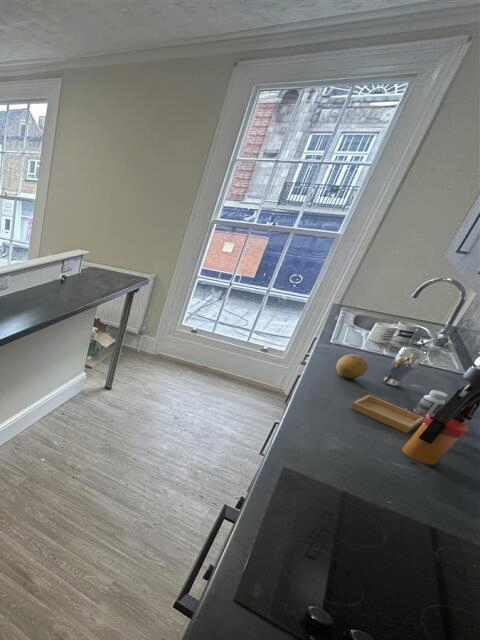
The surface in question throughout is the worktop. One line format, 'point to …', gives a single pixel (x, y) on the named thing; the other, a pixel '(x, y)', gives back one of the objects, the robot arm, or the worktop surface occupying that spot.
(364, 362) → the potato
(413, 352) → the beer glass
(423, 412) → the pill bottle
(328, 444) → the worktop surface
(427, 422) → the lid
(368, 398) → the tray
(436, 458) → the jam jar
